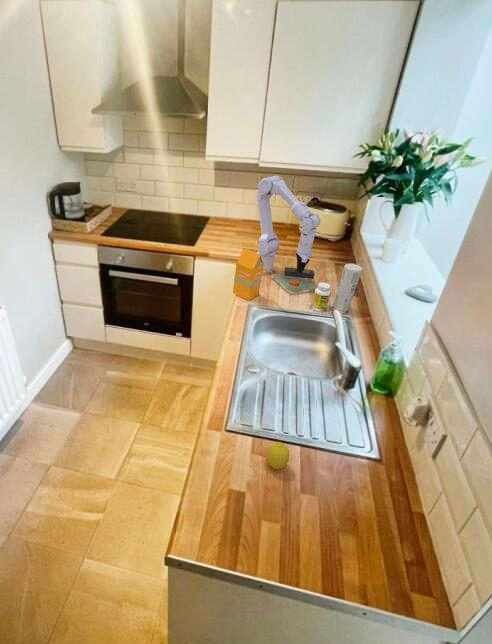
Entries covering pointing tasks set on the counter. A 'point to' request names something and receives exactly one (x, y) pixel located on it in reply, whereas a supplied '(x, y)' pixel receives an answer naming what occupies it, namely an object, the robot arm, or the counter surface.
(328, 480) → the counter surface
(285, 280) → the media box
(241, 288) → the orange juice
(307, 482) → the counter surface
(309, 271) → the remote
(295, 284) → the power button
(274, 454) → the lemon
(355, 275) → the spray can
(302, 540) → the counter surface
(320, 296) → the pill bottle
